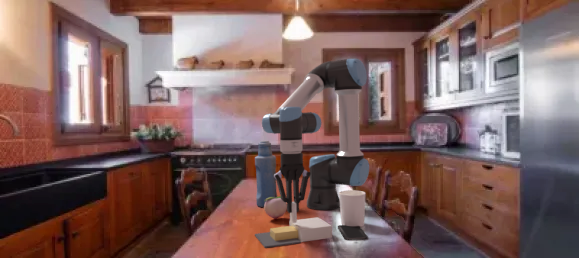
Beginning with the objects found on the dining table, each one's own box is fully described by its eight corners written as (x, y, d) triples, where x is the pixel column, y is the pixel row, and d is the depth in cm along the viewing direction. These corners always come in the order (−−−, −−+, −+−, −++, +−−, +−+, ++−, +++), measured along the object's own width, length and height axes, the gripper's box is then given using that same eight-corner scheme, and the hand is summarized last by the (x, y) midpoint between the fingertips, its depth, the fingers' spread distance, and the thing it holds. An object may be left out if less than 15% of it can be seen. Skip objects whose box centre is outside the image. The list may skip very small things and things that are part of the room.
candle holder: (357, 219, 150) (356, 189, 149) (371, 226, 141) (370, 193, 140) (334, 223, 146) (334, 191, 146) (347, 229, 137) (347, 196, 137)
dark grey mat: (287, 231, 138) (287, 229, 138) (300, 243, 124) (300, 241, 124) (254, 235, 134) (254, 233, 134) (264, 247, 121) (264, 246, 120)
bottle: (280, 206, 177) (278, 141, 176) (259, 208, 173) (257, 142, 172) (273, 202, 186) (271, 140, 185) (253, 204, 182) (252, 141, 181)
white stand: (318, 228, 140) (318, 217, 140) (332, 237, 129) (331, 225, 129) (289, 231, 137) (289, 220, 137) (301, 241, 125) (301, 229, 125)
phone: (344, 238, 126) (337, 225, 141) (344, 241, 126) (337, 228, 141) (368, 237, 126) (358, 224, 141) (368, 240, 126) (358, 227, 141)
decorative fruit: (271, 223, 148) (270, 197, 148) (261, 219, 155) (260, 194, 155) (291, 219, 153) (291, 194, 153) (281, 215, 160) (281, 191, 160)
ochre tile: (292, 232, 134) (292, 225, 134) (298, 237, 128) (298, 230, 128) (270, 235, 131) (269, 228, 131) (275, 240, 126) (274, 233, 126)
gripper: (276, 154, 124) (278, 226, 125) (313, 152, 129) (315, 222, 129) (269, 152, 132) (271, 221, 132) (305, 150, 136) (307, 217, 136)
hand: (293, 221), depth 131 cm, fingers closed
